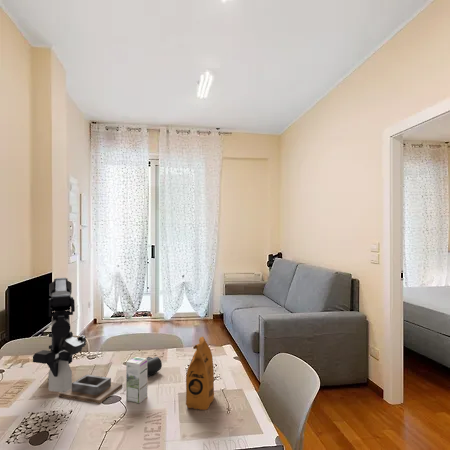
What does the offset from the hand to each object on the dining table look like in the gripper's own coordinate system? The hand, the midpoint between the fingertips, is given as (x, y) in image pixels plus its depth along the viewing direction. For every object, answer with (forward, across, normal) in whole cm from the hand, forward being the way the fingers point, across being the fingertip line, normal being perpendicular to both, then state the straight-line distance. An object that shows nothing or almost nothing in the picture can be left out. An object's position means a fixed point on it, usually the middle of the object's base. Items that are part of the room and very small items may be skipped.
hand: (60, 374), depth 121 cm
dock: (+11, +13, -3) cm, 18 cm away
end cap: (+12, +33, -16) cm, 39 cm away
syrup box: (+12, +13, -23) cm, 29 cm away
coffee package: (+12, +18, -46) cm, 51 cm away
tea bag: (+5, 0, 0) cm, 5 cm away
